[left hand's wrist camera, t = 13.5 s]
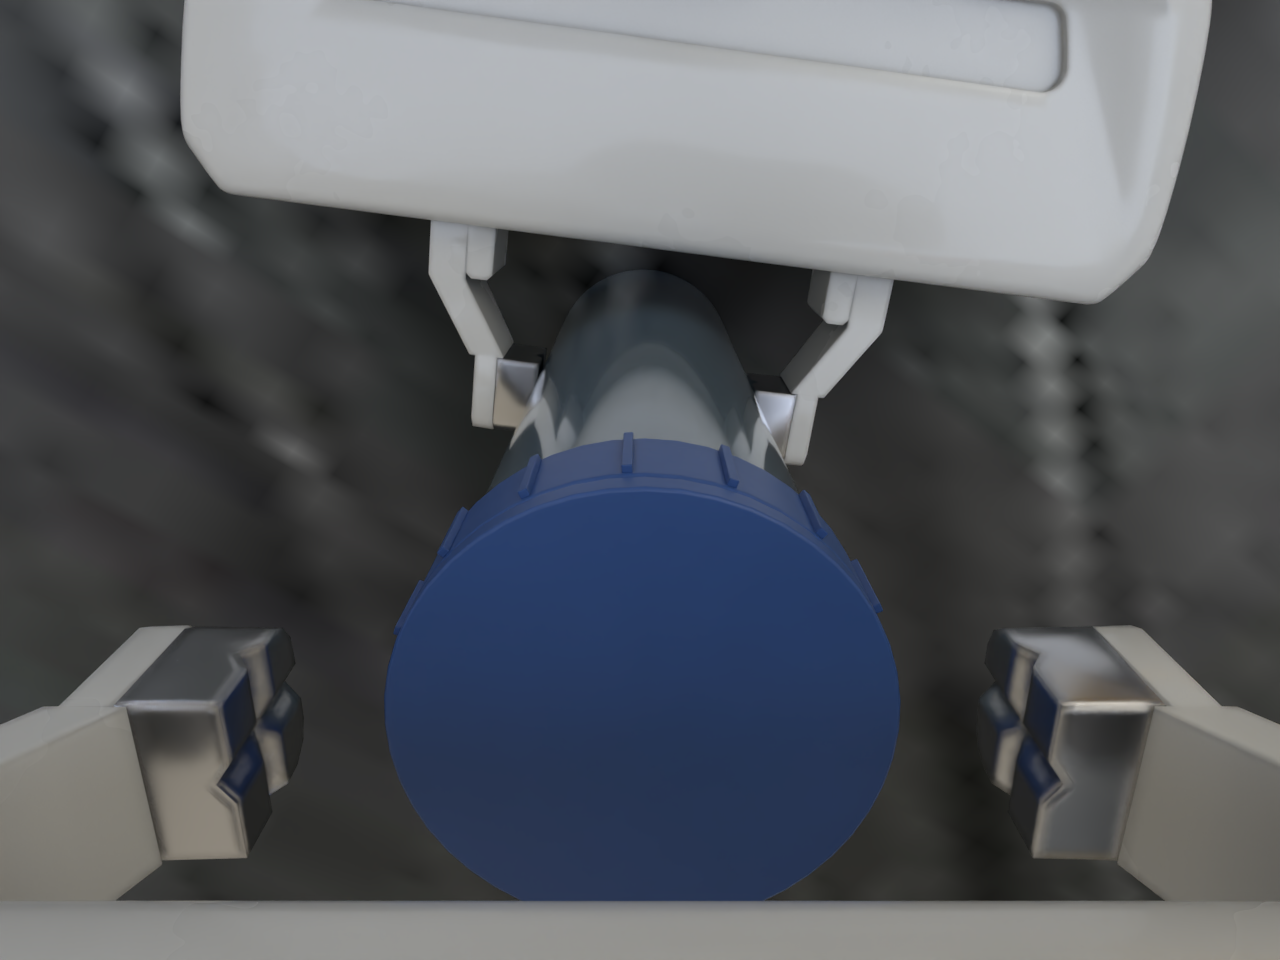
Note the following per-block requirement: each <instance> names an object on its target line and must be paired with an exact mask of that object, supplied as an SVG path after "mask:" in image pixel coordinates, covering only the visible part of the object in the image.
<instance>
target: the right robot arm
mask: <svg viewBox="0 0 1280 960" xmlns="http://www.w3.org/2000/svg"><path fill="white" fill-rule="evenodd" d="M1211 9H1212V0H185V1H184V13H183V27H182V51H181V92H180V104H181V124H182V131H183V135H184V138H185V140H186V142H187V144H188V146H189V147H190V149H191V150H192V152H193V153H194V155H195V156H196V157H197V159H198V160H199V162H200V163H201V164H202V166H203V167H204V169H205V170H206V172H207V173H208V174H209V176H210V177H211V178H212V180H213V181H214V182H215V183H216V184H217V186H218V187H219V188H220V189H222V190H223V191H225V192H227V193H230V194H234V195H241V196H248V197H255V198H263V199H271V200H279V201H286V202H294V203H302V204H310V205H317V206H325V207H333V208H341V209H349V210H356V211H364V212H372V213H380V214H388V215H395V216H403V217H411V218H419V219H426V220H431V230H430V253H429V276H430V278H431V280H432V282H433V284H434V286H435V288H436V290H437V292H438V294H439V295H440V297H441V299H442V301H443V303H444V305H445V307H446V309H447V311H448V313H449V315H450V317H451V319H452V321H453V323H454V325H455V327H456V329H457V331H458V333H459V335H460V337H461V339H462V341H463V343H464V345H465V346H466V348H467V350H468V352H469V354H471V355H475V365H474V381H473V397H472V413H471V418H472V425H473V426H477V427H483V428H488V429H494V428H495V429H503V430H513V431H515V429H516V427H517V424H518V422H519V420H520V418H521V416H522V413H523V411H524V409H525V407H526V405H527V402H528V400H529V398H530V396H531V394H532V391H533V389H534V387H535V385H536V383H537V380H538V378H539V376H540V374H541V372H542V369H543V367H544V365H545V361H546V349H547V348H541V347H535V346H528V345H521V344H514V341H513V339H512V336H511V334H510V332H509V330H508V327H507V325H506V323H505V321H504V319H503V316H502V314H501V312H500V310H499V307H498V305H497V303H496V301H495V298H494V296H493V294H492V292H491V290H490V287H489V285H488V283H487V281H486V280H488V279H489V278H490V277H491V276H493V275H494V274H495V273H496V272H497V271H499V270H500V269H501V268H502V267H503V266H505V265H506V255H507V243H508V231H509V230H512V231H520V232H528V233H535V234H543V235H551V236H559V237H566V238H574V239H582V240H590V241H598V242H605V243H613V244H621V245H629V246H636V247H644V248H652V249H660V250H668V251H675V252H683V253H691V254H699V255H706V256H714V257H722V258H730V259H738V260H745V261H753V262H761V263H769V264H776V265H784V266H792V267H800V268H808V269H813V270H812V276H811V282H810V288H809V294H808V300H807V303H808V305H809V306H810V308H811V309H812V310H813V311H814V312H815V313H817V314H818V315H819V316H820V317H821V318H822V319H823V321H822V322H821V323H820V325H819V326H818V327H817V328H816V330H815V331H814V332H813V333H812V335H811V336H810V337H809V338H808V340H807V341H806V342H805V344H804V345H803V346H802V347H801V349H800V350H799V351H798V352H797V354H796V355H795V356H794V357H793V359H792V360H791V361H790V362H789V364H788V365H787V366H786V367H785V369H784V370H783V371H782V372H781V374H780V376H771V375H761V374H751V373H747V379H748V381H749V383H750V385H751V388H752V390H753V392H754V394H755V397H756V399H757V401H758V403H759V406H760V408H761V410H762V412H763V415H764V417H765V419H766V421H767V424H768V426H769V428H770V430H771V432H772V435H773V437H774V439H775V441H776V444H777V446H778V448H779V450H780V453H781V455H782V457H783V459H784V462H785V464H791V465H799V466H801V465H802V464H803V463H804V461H805V458H806V456H807V452H808V447H809V442H810V437H811V432H812V427H813V422H814V416H815V411H816V406H817V401H818V398H824V397H825V396H826V395H827V394H828V393H829V391H830V390H831V389H832V388H833V387H834V386H835V385H836V384H837V382H838V381H839V380H840V379H841V378H842V377H843V376H844V375H845V373H846V372H847V371H848V370H849V369H850V368H851V367H852V366H853V364H854V363H855V362H856V361H857V360H858V359H859V358H860V357H861V355H862V354H863V353H864V352H865V351H866V350H867V349H868V348H869V346H870V345H871V344H872V343H873V342H874V341H875V340H876V339H877V337H878V336H879V335H880V334H881V333H882V331H883V327H884V322H885V318H886V313H887V309H888V304H889V300H890V295H891V291H892V286H893V282H894V280H901V281H909V282H917V283H924V284H932V285H940V286H948V287H955V288H963V289H971V290H979V291H987V292H994V293H1002V294H1010V295H1018V296H1025V297H1033V298H1041V299H1049V300H1057V301H1065V302H1073V303H1081V304H1095V303H1098V302H1100V301H1102V300H1103V299H1105V298H1106V297H1107V296H1109V295H1110V294H1111V293H1113V292H1114V291H1115V290H1116V289H1117V288H1119V287H1120V286H1121V285H1122V284H1123V283H1124V282H1125V281H1126V280H1128V279H1129V278H1130V277H1131V276H1132V275H1133V274H1134V273H1135V272H1136V271H1138V270H1139V269H1140V268H1141V267H1142V266H1143V265H1144V264H1145V262H1146V261H1147V260H1148V258H1149V257H1150V255H1151V253H1152V251H1153V249H1154V246H1155V244H1156V242H1157V240H1158V237H1159V234H1160V231H1161V228H1162V225H1163V222H1164V219H1165V216H1166V213H1167V210H1168V206H1169V203H1170V200H1171V196H1172V193H1173V189H1174V186H1175V182H1176V178H1177V175H1178V171H1179V168H1180V164H1181V160H1182V156H1183V152H1184V148H1185V144H1186V140H1187V136H1188V132H1189V128H1190V123H1191V119H1192V114H1193V110H1194V105H1195V101H1196V96H1197V92H1198V87H1199V82H1200V77H1201V72H1202V66H1203V61H1204V56H1205V51H1206V45H1207V39H1208V33H1209V27H1210V19H1211Z"/></svg>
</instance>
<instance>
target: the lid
mask: <svg viewBox="0 0 1280 960" xmlns="http://www.w3.org/2000/svg"><path fill="white" fill-rule="evenodd" d="M437 553H438V555H437V557H436V559H435V561H434V563H433V565H432V567H431V569H430V571H429V572H428V574H427V576H426V578H425V580H424V581H421V580H419V582H418V584H417V586H416V587H415V589H414V591H413V593H412V595H411V597H410V599H409V601H408V603H407V605H406V607H405V609H404V611H403V613H402V615H401V616H400V618H399V620H398V622H397V624H396V626H395V629H394V634H395V635H398V636H397V638H396V641H395V644H394V648H393V651H392V655H391V658H390V661H389V665H388V671H387V678H386V686H385V693H384V706H385V727H386V733H387V739H388V744H389V750H390V754H391V757H392V760H393V763H394V766H395V769H396V772H397V775H398V778H399V781H400V783H401V785H402V787H403V789H404V791H405V793H406V795H407V797H408V799H409V801H410V803H411V805H412V807H413V808H414V809H415V811H416V812H417V814H418V815H419V817H420V818H421V820H422V821H423V822H424V824H425V825H426V827H427V828H428V830H429V831H430V832H431V833H432V834H433V835H434V836H435V837H436V839H437V840H438V841H439V842H440V843H441V844H442V845H443V846H444V847H445V849H446V850H447V851H448V852H449V853H451V854H452V855H453V856H454V857H455V858H456V859H458V860H459V861H460V862H461V863H462V864H463V865H464V866H466V867H467V868H468V869H469V870H470V871H472V872H473V873H475V874H476V875H478V876H479V877H481V878H482V879H484V880H485V881H487V882H488V883H490V884H491V885H493V886H494V887H496V888H498V889H500V890H501V891H503V892H505V893H507V894H509V895H511V896H513V897H515V898H517V899H519V900H521V901H764V900H766V899H768V898H770V897H772V896H774V895H776V894H778V893H780V892H782V891H784V890H786V889H788V888H789V887H791V886H792V885H794V884H795V883H797V882H799V881H800V880H802V879H803V878H805V877H806V876H808V875H809V874H811V873H812V872H813V871H814V870H816V869H817V868H818V867H819V866H820V865H822V864H823V863H824V862H825V861H827V860H828V859H829V858H830V857H831V856H833V855H834V854H835V852H836V851H837V850H838V849H839V848H840V847H841V846H842V845H843V844H844V843H845V842H846V841H847V840H848V839H849V838H850V837H851V836H852V835H853V833H854V832H855V830H856V829H857V828H858V826H859V825H860V824H861V822H862V821H863V820H864V818H865V817H866V815H867V814H868V813H869V811H870V809H871V808H872V806H873V804H874V802H875V800H876V798H877V796H878V795H879V793H880V791H881V789H882V787H883V785H884V782H885V779H886V777H887V774H888V771H889V768H890V766H891V763H892V760H893V756H894V752H895V747H896V742H897V737H898V732H899V719H900V692H899V683H898V674H897V669H896V665H895V661H894V658H893V654H892V650H891V646H890V643H889V641H888V638H887V636H886V634H885V631H884V629H883V627H882V625H881V622H880V620H879V618H878V616H877V613H879V612H882V611H883V609H882V607H881V604H880V602H879V600H878V598H877V596H876V595H875V593H874V591H873V589H872V587H871V585H870V583H869V581H868V579H867V577H866V575H865V573H864V571H863V569H862V567H861V566H860V564H859V562H858V560H857V559H855V560H853V561H850V559H849V557H848V555H847V553H846V551H845V550H844V548H843V547H842V545H841V544H840V542H839V540H838V539H837V537H836V536H835V534H834V532H833V531H832V529H831V528H830V527H829V526H828V524H827V523H826V522H825V521H824V520H823V519H822V517H821V516H820V515H819V513H818V511H817V509H816V507H815V505H814V503H813V501H812V498H811V496H810V495H809V494H808V493H807V492H806V491H805V490H803V491H802V492H801V493H800V494H797V493H796V492H795V491H794V490H793V489H792V488H791V487H789V486H788V485H786V484H785V483H783V482H782V481H780V480H779V479H777V478H776V477H774V476H773V475H771V474H770V473H768V472H767V471H765V470H763V469H761V468H759V467H757V466H755V465H753V464H751V463H749V462H747V461H745V460H743V459H741V458H739V457H736V456H733V455H732V453H731V450H730V447H728V446H725V445H722V444H721V446H720V448H719V451H718V450H715V449H712V448H709V447H706V446H701V445H696V444H691V443H686V442H681V441H674V440H661V439H647V438H642V439H634V436H633V432H625V433H624V435H623V439H622V440H610V441H604V442H599V443H593V444H588V445H582V446H579V447H576V448H572V449H569V450H566V451H563V452H560V453H556V454H553V455H551V456H548V457H546V458H544V459H542V460H541V458H540V456H539V454H536V455H534V456H532V457H530V459H529V462H528V465H527V467H525V468H523V469H521V470H520V471H518V472H516V473H515V474H513V475H512V476H510V477H509V478H507V479H505V480H504V481H502V482H501V483H499V484H498V485H497V486H495V487H494V488H493V489H492V490H491V491H489V492H488V493H487V494H486V495H485V496H483V497H482V498H481V499H480V500H479V501H478V502H476V503H475V504H474V505H473V507H472V508H471V509H470V510H469V511H468V510H466V509H465V508H464V507H462V508H461V509H460V510H459V511H458V512H457V514H456V516H455V518H454V520H453V522H452V524H451V526H450V528H449V530H448V532H447V534H446V536H445V538H444V540H443V542H442V544H441V546H440V548H439V550H438V552H437Z"/></svg>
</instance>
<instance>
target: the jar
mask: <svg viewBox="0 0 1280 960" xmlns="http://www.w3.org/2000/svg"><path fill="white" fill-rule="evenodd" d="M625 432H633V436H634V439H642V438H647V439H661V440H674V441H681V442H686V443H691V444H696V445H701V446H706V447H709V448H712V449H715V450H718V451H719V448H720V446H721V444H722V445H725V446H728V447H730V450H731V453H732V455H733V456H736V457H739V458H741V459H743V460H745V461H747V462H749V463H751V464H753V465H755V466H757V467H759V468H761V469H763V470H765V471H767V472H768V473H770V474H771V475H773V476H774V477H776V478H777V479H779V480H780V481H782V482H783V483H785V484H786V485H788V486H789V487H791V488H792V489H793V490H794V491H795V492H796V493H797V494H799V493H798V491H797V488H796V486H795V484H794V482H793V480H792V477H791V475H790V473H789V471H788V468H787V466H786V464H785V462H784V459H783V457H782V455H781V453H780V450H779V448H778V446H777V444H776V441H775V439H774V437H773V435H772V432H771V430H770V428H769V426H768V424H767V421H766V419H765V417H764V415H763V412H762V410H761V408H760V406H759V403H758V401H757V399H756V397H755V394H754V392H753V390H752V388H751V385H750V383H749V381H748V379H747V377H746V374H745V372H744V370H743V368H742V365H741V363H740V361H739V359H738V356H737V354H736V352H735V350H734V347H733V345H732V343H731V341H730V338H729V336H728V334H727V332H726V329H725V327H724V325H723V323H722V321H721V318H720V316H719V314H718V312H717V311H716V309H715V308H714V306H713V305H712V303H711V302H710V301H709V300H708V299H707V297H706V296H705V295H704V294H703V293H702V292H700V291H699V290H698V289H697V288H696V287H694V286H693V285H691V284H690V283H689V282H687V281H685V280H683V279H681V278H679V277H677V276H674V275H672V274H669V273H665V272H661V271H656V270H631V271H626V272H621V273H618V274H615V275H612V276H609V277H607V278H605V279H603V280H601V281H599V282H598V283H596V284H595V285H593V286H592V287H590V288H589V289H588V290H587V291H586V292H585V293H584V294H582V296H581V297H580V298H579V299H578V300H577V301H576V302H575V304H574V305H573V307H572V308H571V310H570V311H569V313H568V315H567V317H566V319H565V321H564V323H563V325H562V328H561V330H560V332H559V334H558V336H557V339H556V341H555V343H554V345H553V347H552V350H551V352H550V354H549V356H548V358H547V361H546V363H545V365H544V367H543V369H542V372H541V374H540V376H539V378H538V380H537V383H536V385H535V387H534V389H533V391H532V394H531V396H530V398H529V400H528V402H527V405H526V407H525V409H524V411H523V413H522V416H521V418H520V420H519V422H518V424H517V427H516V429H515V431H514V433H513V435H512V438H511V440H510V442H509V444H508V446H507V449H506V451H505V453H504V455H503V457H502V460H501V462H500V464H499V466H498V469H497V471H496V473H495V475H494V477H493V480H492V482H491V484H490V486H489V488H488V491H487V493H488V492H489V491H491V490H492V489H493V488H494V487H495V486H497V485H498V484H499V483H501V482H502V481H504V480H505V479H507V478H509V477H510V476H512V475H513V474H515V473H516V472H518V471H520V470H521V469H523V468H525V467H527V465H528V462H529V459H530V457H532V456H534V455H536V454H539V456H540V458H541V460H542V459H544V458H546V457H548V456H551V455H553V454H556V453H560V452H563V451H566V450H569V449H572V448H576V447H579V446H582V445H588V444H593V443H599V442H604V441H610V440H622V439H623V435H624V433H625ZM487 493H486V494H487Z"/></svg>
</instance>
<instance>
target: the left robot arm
mask: <svg viewBox="0 0 1280 960" xmlns="http://www.w3.org/2000/svg"><path fill="white" fill-rule="evenodd" d="M294 665H295V658H294V653H293V648H292V643H291V637H290V636H289V635H288V634H287V632H286V631H285V630H284V629H283V628H259V627H206V626H195V627H191V626H189V625H183V626H150V627H143V628H139V629H138V630H137V631H136V632H135V633H134V634H133V635H132V636H131V637H130V638H129V639H128V640H126V641H125V642H124V643H123V644H122V645H121V646H120V647H119V648H118V649H117V650H116V651H115V652H114V653H113V654H112V655H111V656H110V657H109V658H108V659H107V660H106V661H105V662H104V663H103V664H102V665H101V666H100V667H99V668H98V669H97V670H96V671H94V672H93V673H92V674H91V675H90V676H89V677H88V678H87V679H86V680H85V681H84V682H83V683H82V684H81V685H80V686H79V687H78V688H77V689H76V690H75V691H74V692H73V693H72V694H71V695H70V696H69V697H68V698H67V699H66V700H65V701H64V702H62V703H61V704H60V705H59V706H48V707H41V708H39V709H36V710H34V711H32V712H29V713H27V714H24V715H22V716H20V717H17V718H15V719H13V720H10V721H8V722H6V723H3V724H1V725H0V960H1280V725H1279V724H1277V723H1274V722H1272V721H1270V720H1267V719H1265V718H1263V717H1260V716H1258V715H1256V714H1253V713H1251V712H1248V711H1246V710H1244V709H1241V708H1239V707H1233V706H1221V705H1220V704H1219V703H1218V702H1217V701H1216V700H1214V699H1213V698H1212V697H1211V696H1210V695H1209V694H1208V693H1207V692H1206V691H1205V690H1204V689H1203V688H1202V687H1201V686H1200V685H1199V684H1198V683H1197V682H1196V681H1195V680H1194V679H1193V678H1192V677H1191V676H1190V675H1189V674H1188V673H1187V672H1186V671H1185V670H1184V669H1183V668H1182V667H1181V666H1180V665H1178V664H1177V663H1176V662H1175V661H1174V660H1173V659H1172V658H1171V657H1170V656H1169V655H1168V654H1167V653H1166V652H1165V651H1164V650H1163V649H1162V648H1161V647H1160V646H1159V645H1158V644H1157V643H1156V642H1155V641H1154V640H1153V639H1152V638H1151V637H1150V636H1149V635H1148V634H1147V633H1146V632H1145V631H1144V630H1142V629H1140V628H1137V627H1134V626H1131V625H1122V626H1098V627H1092V626H1085V627H1044V628H1004V629H997V630H994V631H993V633H992V635H991V637H990V640H989V642H988V646H987V651H986V657H985V665H986V667H987V668H988V670H989V671H990V673H991V674H992V676H993V678H994V679H995V682H994V683H993V684H992V685H991V686H990V687H989V688H988V689H987V690H986V691H985V692H984V694H983V695H982V696H981V697H980V698H979V704H978V712H977V721H976V729H977V740H978V750H979V753H980V756H981V760H982V763H983V766H984V768H985V770H986V772H987V774H988V776H989V778H990V780H991V782H992V783H993V784H994V785H996V786H997V787H999V788H1001V789H1002V790H1004V791H1005V792H1007V793H1008V794H1010V801H1009V807H1008V813H1009V815H1010V817H1011V819H1012V821H1013V822H1014V824H1015V826H1016V828H1017V830H1018V831H1019V833H1020V835H1021V837H1022V839H1023V840H1024V842H1025V844H1026V846H1027V848H1028V849H1029V851H1030V853H1031V855H1032V857H1033V858H1055V859H1092V860H1118V863H1117V864H1118V865H1120V866H1121V867H1122V868H1123V869H1125V870H1126V871H1127V872H1129V873H1130V874H1131V875H1133V876H1134V877H1135V878H1136V879H1138V880H1139V881H1140V882H1142V883H1143V884H1144V885H1145V886H1147V887H1148V888H1149V889H1151V890H1152V891H1153V892H1155V893H1156V894H1157V895H1158V896H1160V897H1161V898H1162V899H1164V900H1165V901H115V900H117V899H118V898H119V897H121V896H122V895H123V894H124V893H126V892H127V891H128V890H130V889H131V888H132V887H134V886H135V885H136V884H137V883H139V882H140V881H141V880H143V879H144V878H145V877H147V876H148V875H149V874H150V873H152V872H153V871H154V870H156V869H157V868H158V867H160V866H161V865H162V860H187V859H222V858H247V857H248V855H249V853H250V851H251V850H252V848H253V846H254V844H255V842H256V840H257V839H258V837H259V835H260V833H261V831H262V830H263V828H264V826H265V824H266V822H267V821H268V819H269V817H270V815H271V813H272V807H271V801H270V794H272V793H273V792H275V791H276V790H278V789H279V788H281V787H283V786H284V785H286V784H287V783H288V782H289V780H290V778H291V776H292V774H293V772H294V770H295V768H296V766H297V764H298V760H299V755H300V751H301V747H302V742H303V722H304V717H303V710H302V703H301V698H300V697H299V696H298V695H297V694H296V692H295V691H294V690H293V689H292V688H291V687H290V686H289V685H288V684H287V683H286V682H285V679H286V678H287V676H288V674H289V673H290V671H291V670H292V668H293V667H294Z"/></svg>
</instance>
